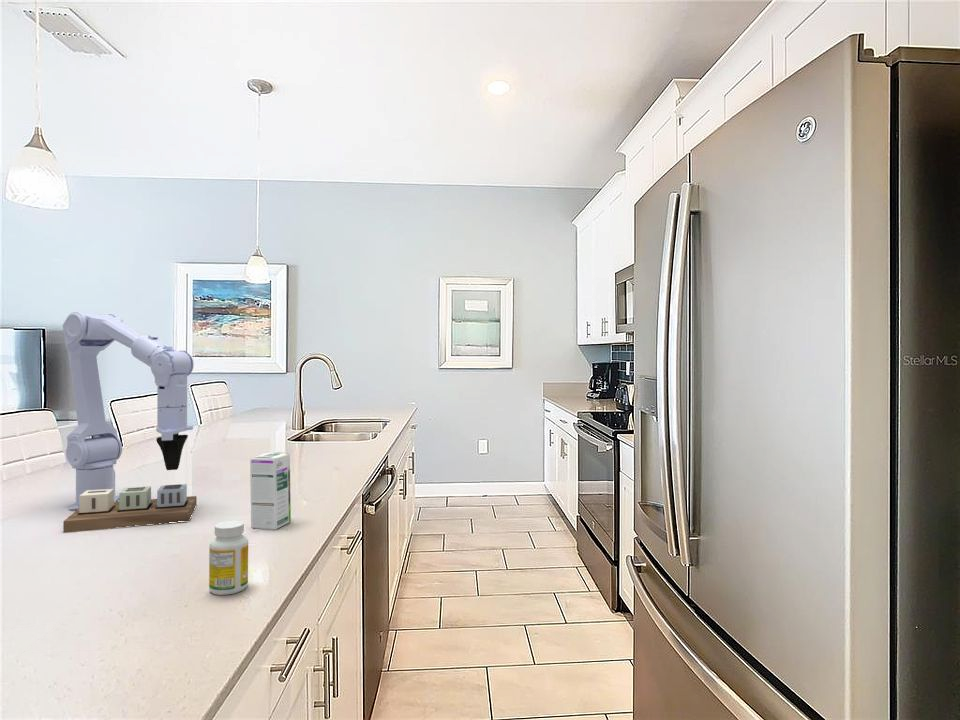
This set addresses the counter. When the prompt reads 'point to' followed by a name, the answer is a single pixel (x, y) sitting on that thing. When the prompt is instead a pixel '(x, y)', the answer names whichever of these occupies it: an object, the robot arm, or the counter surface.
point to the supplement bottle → (228, 559)
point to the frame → (129, 516)
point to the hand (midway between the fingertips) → (172, 469)
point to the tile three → (172, 495)
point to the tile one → (96, 500)
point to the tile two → (134, 498)
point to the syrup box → (270, 490)
